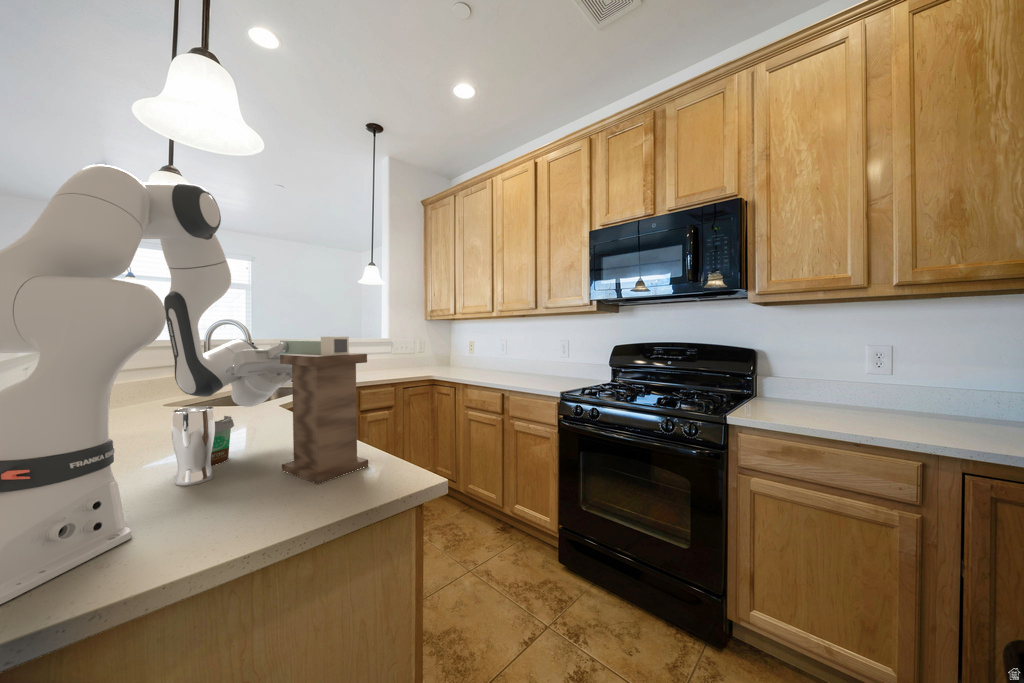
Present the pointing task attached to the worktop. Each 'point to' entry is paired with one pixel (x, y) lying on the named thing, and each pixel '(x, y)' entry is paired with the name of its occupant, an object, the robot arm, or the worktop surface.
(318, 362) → the wooden pedestal column
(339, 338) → the sage bar
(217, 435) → the food container
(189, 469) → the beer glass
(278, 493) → the worktop surface
